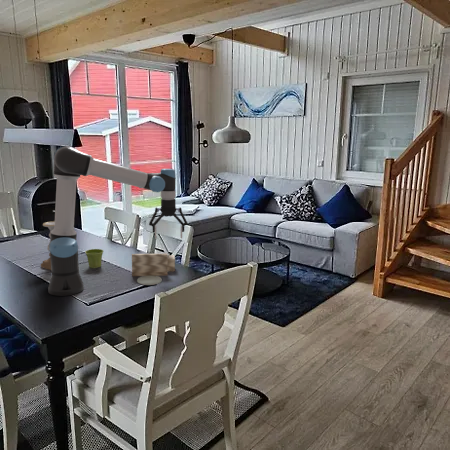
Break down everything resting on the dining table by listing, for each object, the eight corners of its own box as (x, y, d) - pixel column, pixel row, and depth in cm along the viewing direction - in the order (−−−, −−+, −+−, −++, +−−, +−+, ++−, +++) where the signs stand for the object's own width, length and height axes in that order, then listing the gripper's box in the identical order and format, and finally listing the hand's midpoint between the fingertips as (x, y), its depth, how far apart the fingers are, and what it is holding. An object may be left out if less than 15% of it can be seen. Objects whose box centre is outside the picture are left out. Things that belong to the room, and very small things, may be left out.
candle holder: (58, 262, 221) (55, 220, 216) (71, 265, 216) (69, 222, 211) (40, 267, 212) (37, 223, 207) (53, 271, 207) (50, 226, 202)
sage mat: (152, 286, 190) (152, 285, 190) (132, 282, 195) (132, 281, 195) (166, 279, 201) (166, 278, 201) (146, 275, 205) (146, 274, 205)
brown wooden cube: (174, 267, 220) (174, 254, 218) (174, 271, 213) (174, 258, 211) (161, 267, 218) (161, 254, 217) (161, 271, 212) (161, 258, 210)
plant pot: (101, 269, 211) (100, 254, 210) (83, 269, 211) (82, 253, 209) (106, 264, 221) (105, 249, 219) (89, 263, 220) (88, 248, 219)
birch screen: (167, 272, 210) (167, 252, 207) (167, 275, 206) (167, 255, 204) (132, 273, 207) (132, 253, 205) (131, 276, 203) (131, 255, 201)
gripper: (191, 197, 213) (191, 235, 218) (144, 197, 209) (145, 236, 214) (192, 199, 206) (192, 239, 210) (143, 199, 202) (144, 240, 206)
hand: (168, 238), depth 212 cm, fingers open, 13 cm apart
